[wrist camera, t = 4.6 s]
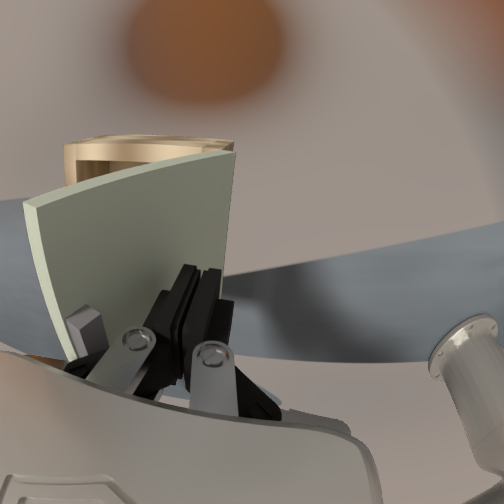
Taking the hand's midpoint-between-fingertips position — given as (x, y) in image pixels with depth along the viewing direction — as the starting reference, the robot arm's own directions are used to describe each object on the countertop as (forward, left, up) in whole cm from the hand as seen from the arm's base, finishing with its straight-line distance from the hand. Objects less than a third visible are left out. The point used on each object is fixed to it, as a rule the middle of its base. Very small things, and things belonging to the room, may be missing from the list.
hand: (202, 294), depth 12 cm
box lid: (+3, 0, -1) cm, 3 cm away
